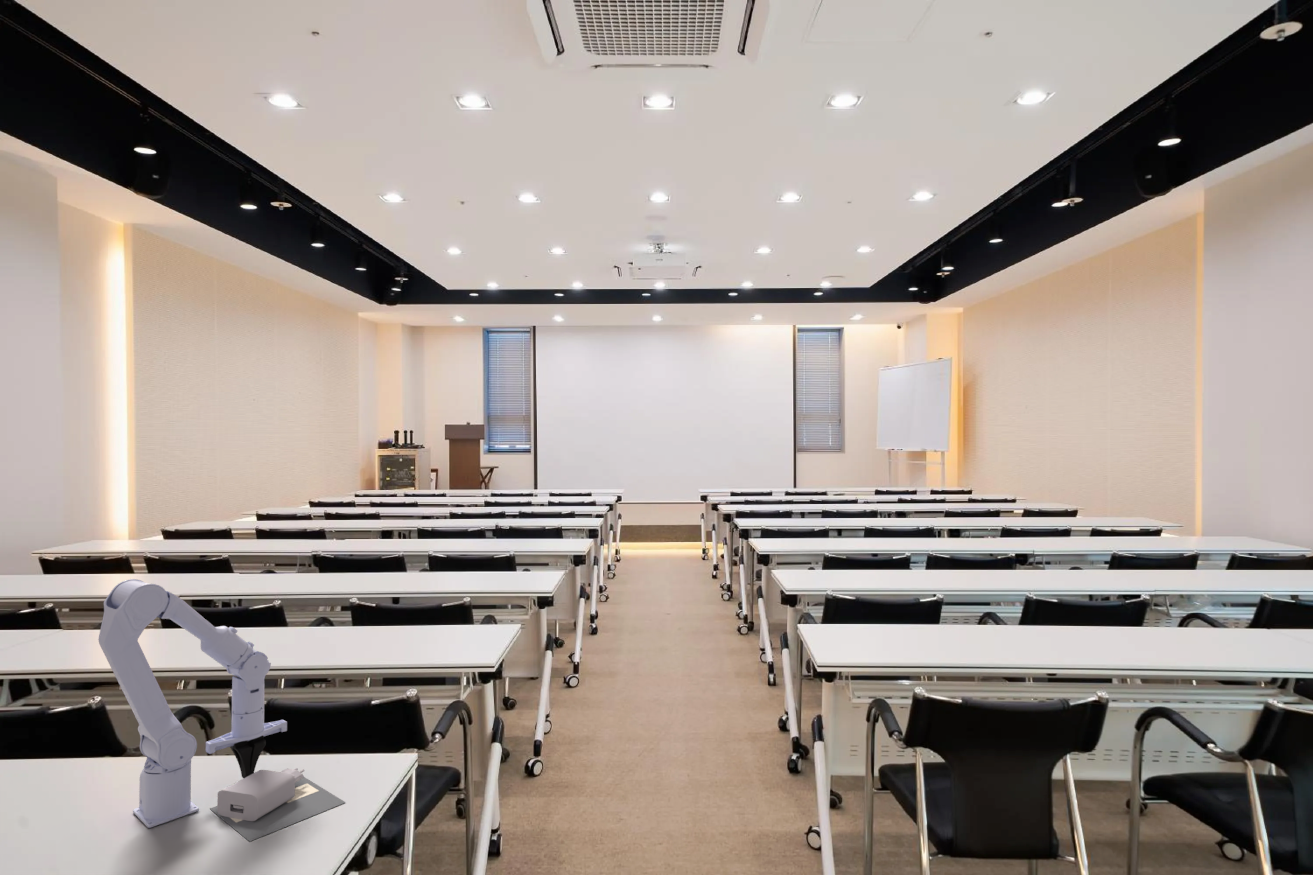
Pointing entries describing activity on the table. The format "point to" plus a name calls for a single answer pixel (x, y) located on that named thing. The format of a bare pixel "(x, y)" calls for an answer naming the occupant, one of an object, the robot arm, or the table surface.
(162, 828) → the table surface
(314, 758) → the table surface
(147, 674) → the robot arm
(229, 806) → the charger
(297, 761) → the table surface
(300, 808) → the label mat
